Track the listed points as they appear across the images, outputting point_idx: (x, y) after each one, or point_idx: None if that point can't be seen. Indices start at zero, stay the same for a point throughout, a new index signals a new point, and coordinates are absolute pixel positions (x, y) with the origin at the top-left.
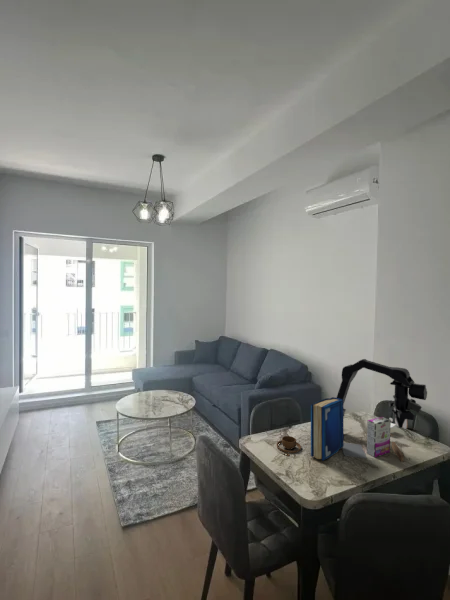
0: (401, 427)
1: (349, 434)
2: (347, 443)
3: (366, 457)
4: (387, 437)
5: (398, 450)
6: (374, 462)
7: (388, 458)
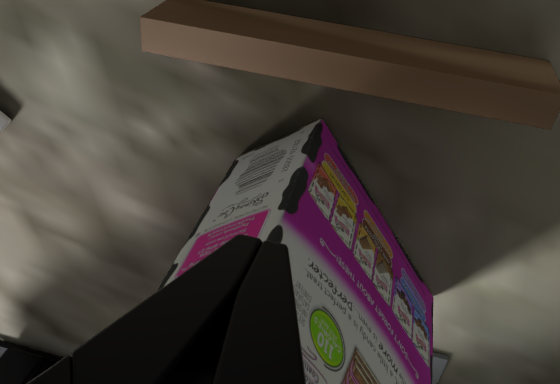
0: (286, 254)
1: (18, 285)
2: None
3: (440, 358)
4: (311, 286)
5: (407, 93)
6: (524, 335)
7: (450, 187)
